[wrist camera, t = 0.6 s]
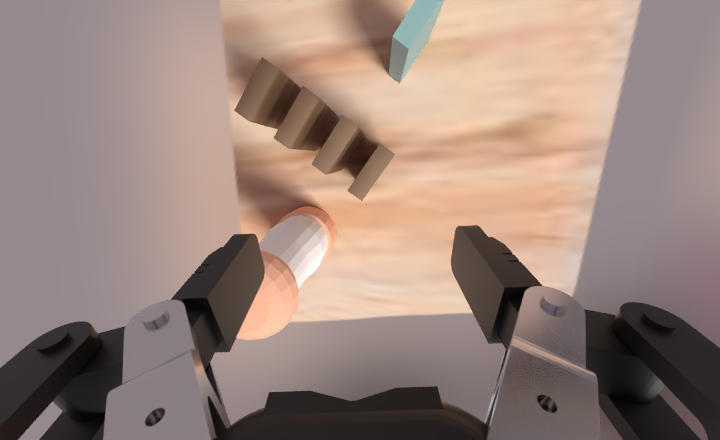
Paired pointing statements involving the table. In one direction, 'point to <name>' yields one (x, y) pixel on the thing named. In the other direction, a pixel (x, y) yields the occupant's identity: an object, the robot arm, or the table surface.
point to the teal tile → (412, 36)
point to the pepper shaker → (287, 268)
